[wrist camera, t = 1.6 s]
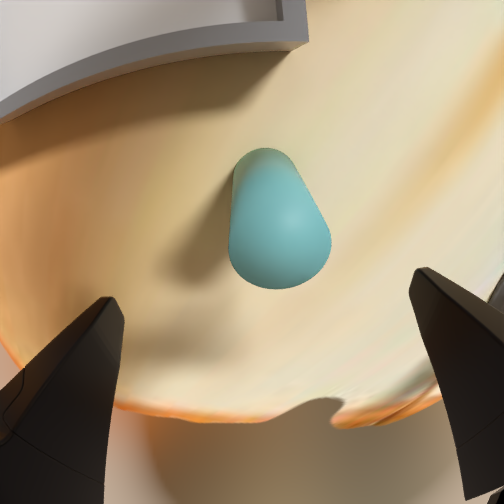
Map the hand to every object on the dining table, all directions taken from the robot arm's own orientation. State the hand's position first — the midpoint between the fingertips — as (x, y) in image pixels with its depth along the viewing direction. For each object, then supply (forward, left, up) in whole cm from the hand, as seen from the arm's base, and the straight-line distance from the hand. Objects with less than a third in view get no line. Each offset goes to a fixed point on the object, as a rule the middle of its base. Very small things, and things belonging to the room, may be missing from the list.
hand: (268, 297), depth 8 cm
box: (+7, -17, -11) cm, 22 cm away
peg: (-1, +1, -11) cm, 11 cm away
